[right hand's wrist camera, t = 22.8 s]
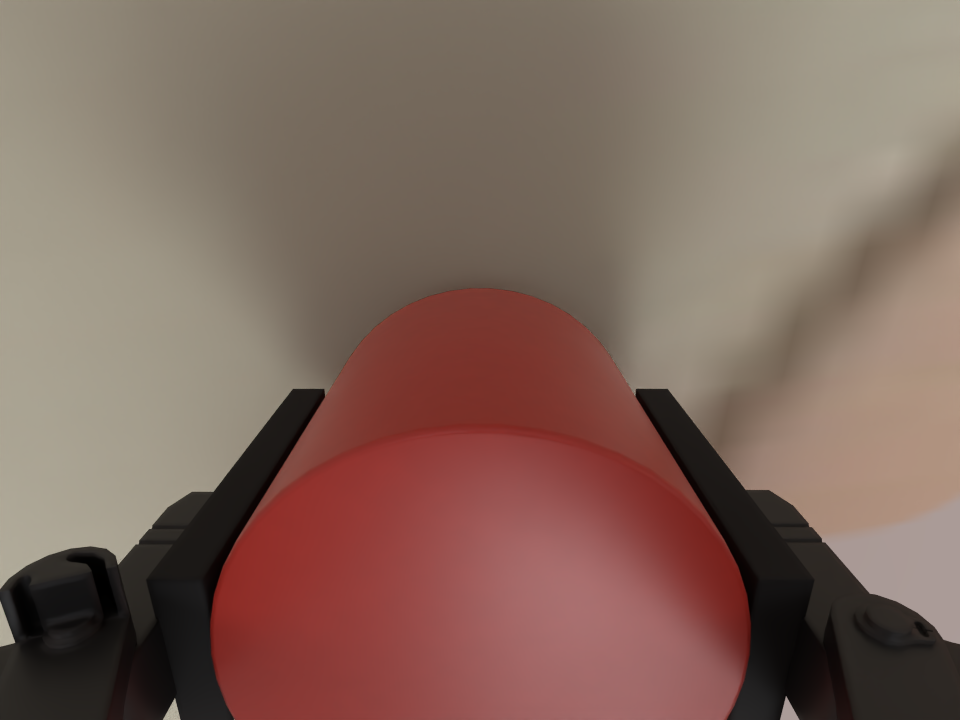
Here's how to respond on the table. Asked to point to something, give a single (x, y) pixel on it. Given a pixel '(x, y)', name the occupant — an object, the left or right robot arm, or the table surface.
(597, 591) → the canister
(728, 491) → the right robot arm
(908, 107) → the table surface
